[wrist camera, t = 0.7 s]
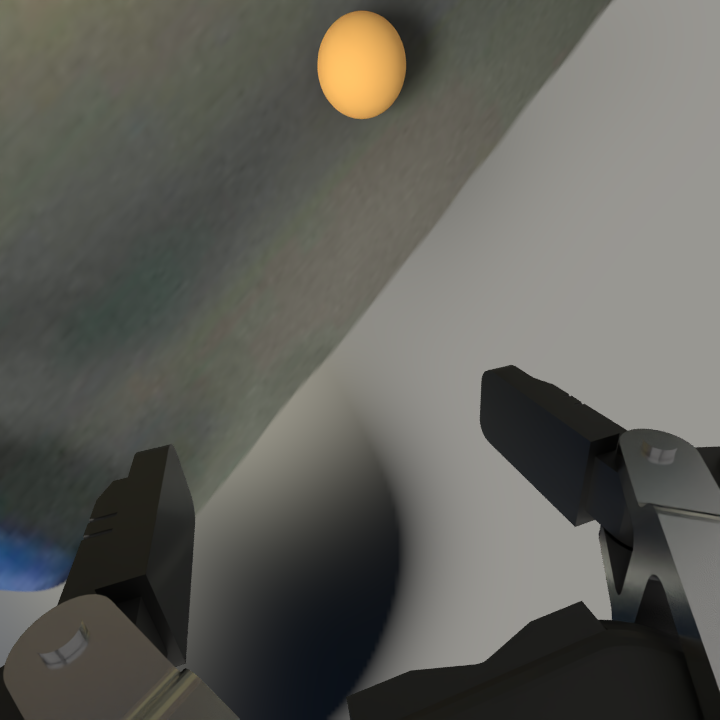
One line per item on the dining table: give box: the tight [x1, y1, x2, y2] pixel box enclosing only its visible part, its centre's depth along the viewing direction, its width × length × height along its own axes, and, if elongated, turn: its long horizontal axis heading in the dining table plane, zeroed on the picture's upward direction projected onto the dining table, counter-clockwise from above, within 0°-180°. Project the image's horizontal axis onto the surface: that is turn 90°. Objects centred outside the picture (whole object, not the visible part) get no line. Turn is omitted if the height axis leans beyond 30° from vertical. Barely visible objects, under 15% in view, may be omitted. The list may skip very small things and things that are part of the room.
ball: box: [318, 11, 406, 119], centre depth 26 cm, size 6×6×6 cm
